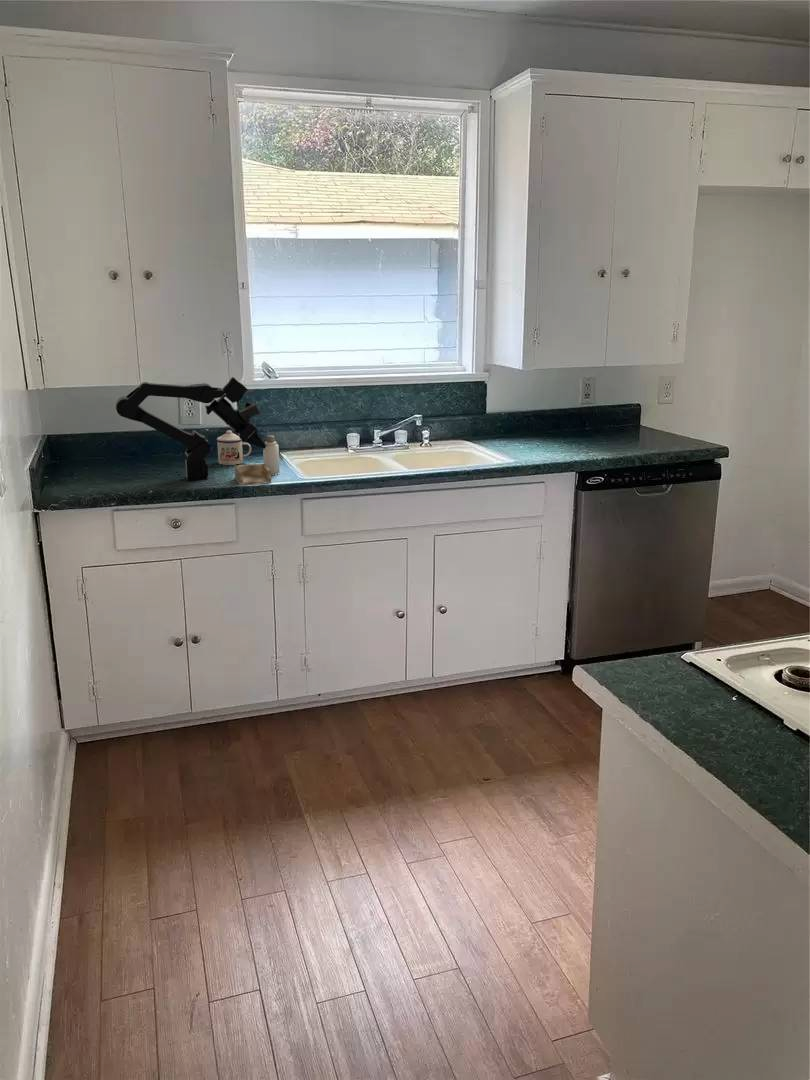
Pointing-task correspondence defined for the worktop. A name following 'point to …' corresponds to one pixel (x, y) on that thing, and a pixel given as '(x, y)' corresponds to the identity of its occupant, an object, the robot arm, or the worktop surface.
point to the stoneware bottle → (271, 455)
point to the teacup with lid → (231, 449)
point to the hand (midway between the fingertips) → (263, 444)
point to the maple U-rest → (252, 474)
